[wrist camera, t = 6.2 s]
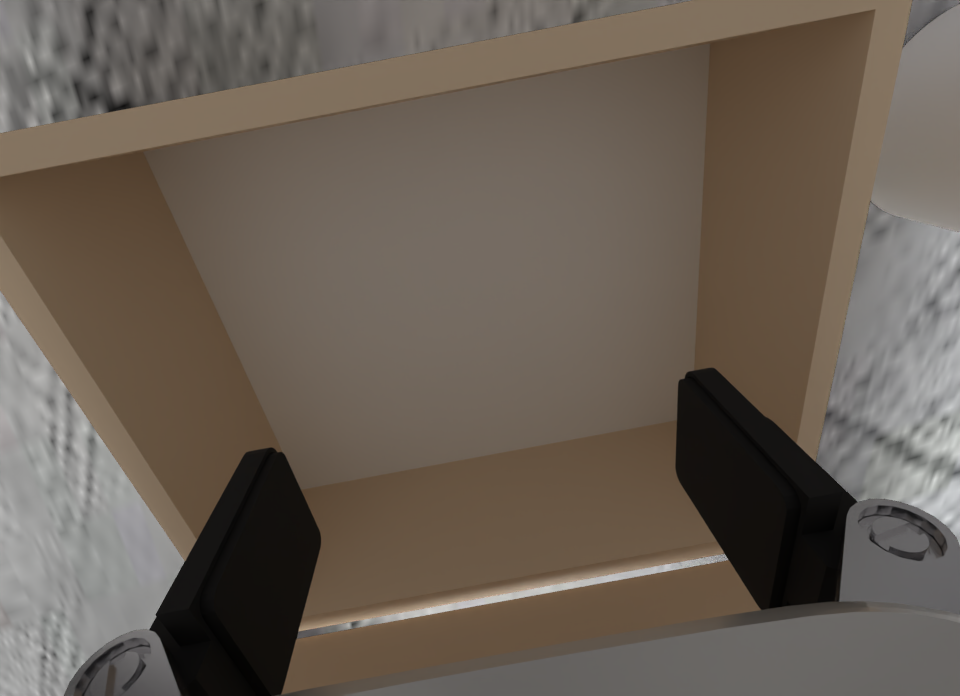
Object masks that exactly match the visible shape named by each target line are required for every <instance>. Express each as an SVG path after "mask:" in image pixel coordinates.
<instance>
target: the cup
mask: <svg viewBox="0 0 960 696" xmlns="http://www.w3.org/2000/svg"><path fill="white" fill-rule="evenodd" d="M871 201H872V202H873V204H875V205H876V206H877V207H878V208H880V209H881V210H883V211H885V212H886V213H889V214H891V215H894V216H897V217H901V218H905V219H909V220H913V221H917V222H921V223H925V224H929V225H933V226H937V227H941V228H944V229H948V230H952V231H956V232H960V4H958V5H956V6H954V7H952V8H951V9H949V10H948V11H946V12H944V13H943V14H941V15H940V16H938V17H937V18H935V19H934V20H933V21H931V22H930V23H929V24H927V25H926V26H925V27H924V28H923V29H921V30H920V31H919V32H918V33H917V34H916V35H915V36H914V37H913V38H912V39H911V40H910V41H909V42H908V43H907V44H906V45H905V46H904V47H903V48H902V53H901V58H900V62H899V67H898V72H897V77H896V81H895V86H894V91H893V96H892V100H891V105H890V110H889V115H888V119H887V124H886V129H885V134H884V139H883V143H882V148H881V153H880V158H879V162H878V167H877V172H876V177H875V181H874V186H873V191H872V196H871Z"/></svg>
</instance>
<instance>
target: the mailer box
mask: <svg viewBox="0 0 960 696" xmlns="http://www.w3.org/2000/svg"><path fill="white" fill-rule="evenodd" d="M911 5H912V0H692V1H687V2H682V3H677V4H671V5H666V6H661V7H656V8H651V9H645V10H640V11H635V12H630V13H625V14H619V15H614V16H609V17H604V18H599V19H593V20H588V21H583V22H578V23H572V24H567V25H562V26H557V27H552V28H546V29H541V30H536V31H531V32H526V33H520V34H515V35H510V36H505V37H500V38H494V39H489V40H484V41H479V42H473V43H468V44H463V45H458V46H453V47H447V48H442V49H437V50H432V51H427V52H421V53H416V54H411V55H406V56H401V57H395V58H390V59H385V60H380V61H374V62H369V63H364V64H359V65H354V66H348V67H343V68H338V69H333V70H328V71H322V72H317V73H312V74H307V75H301V76H296V77H291V78H286V79H281V80H275V81H270V82H265V83H260V84H255V85H249V86H244V87H239V88H234V89H229V90H223V91H218V92H213V93H208V94H202V95H197V96H192V97H187V98H182V99H176V100H171V101H166V102H161V103H156V104H150V105H145V106H140V107H135V108H130V109H124V110H119V111H114V112H109V113H103V114H98V115H93V116H88V117H83V118H77V119H72V120H67V121H62V122H57V123H51V124H46V125H41V126H36V127H31V128H25V129H20V130H15V131H10V132H4V133H0V291H1V292H2V294H3V295H4V297H5V298H6V300H7V301H8V303H9V304H10V305H11V307H12V308H13V310H14V311H15V313H16V314H17V316H18V317H19V319H20V320H21V322H22V323H23V324H24V326H25V327H26V329H27V330H28V332H29V333H30V335H31V336H32V338H33V339H34V341H35V342H36V344H37V345H38V346H39V348H40V349H41V351H42V352H43V354H44V355H45V357H46V358H47V360H48V361H49V363H50V364H51V366H52V367H53V368H54V370H55V371H56V373H57V374H58V376H59V377H60V379H61V380H62V382H63V383H64V385H65V386H66V388H67V389H68V390H69V392H70V393H71V395H72V396H73V398H74V399H75V401H76V402H77V404H78V405H79V407H80V408H81V409H82V411H83V412H84V414H85V415H86V417H87V418H88V420H89V421H90V423H91V424H92V426H93V427H94V429H95V430H96V431H97V433H98V434H99V436H100V437H101V439H102V440H103V442H104V443H105V445H106V446H107V448H108V449H109V451H110V452H111V453H112V455H113V456H114V458H115V459H116V461H117V462H118V464H119V465H120V467H121V468H122V470H123V471H124V472H125V474H126V475H127V477H128V478H129V480H130V481H131V483H132V484H133V486H134V487H135V489H136V490H137V492H138V493H139V494H140V496H141V497H142V499H143V500H144V502H145V503H146V505H147V506H148V508H149V509H150V511H151V512H152V514H153V515H154V516H155V518H156V519H157V521H158V522H159V524H160V525H161V527H162V528H163V530H164V531H165V533H166V534H167V535H168V537H169V538H170V540H171V541H172V543H173V544H174V546H175V547H176V549H177V550H178V552H179V553H180V555H181V556H182V557H183V559H184V560H185V561H186V559H187V557H188V555H189V553H190V552H191V550H192V548H193V546H194V544H195V542H196V541H197V539H198V537H199V535H200V533H201V532H202V530H203V528H204V526H205V524H206V523H207V521H208V519H209V517H210V515H211V513H212V512H213V510H214V508H215V506H216V504H217V503H218V501H219V499H220V497H221V495H222V494H223V492H224V490H225V488H226V486H227V484H228V483H229V481H230V479H231V477H232V475H233V474H234V472H235V470H236V468H237V466H238V465H239V463H240V461H241V459H242V457H243V456H244V454H245V453H246V452H248V451H253V450H259V449H264V448H270V447H272V448H274V449H275V450H276V451H277V452H283V453H284V454H285V456H286V458H287V460H288V462H289V465H290V467H291V469H292V471H293V473H294V476H295V478H296V480H297V482H298V484H299V487H300V489H301V491H302V493H303V495H304V497H305V500H306V502H307V504H308V506H309V508H310V511H311V513H312V515H313V517H314V519H315V522H316V524H317V526H318V528H319V531H320V534H321V548H320V552H319V555H318V559H317V563H316V567H315V570H314V574H313V578H312V582H311V586H310V589H309V593H308V597H307V601H306V604H305V608H304V612H303V616H302V620H301V623H300V627H299V631H304V630H309V629H315V628H320V627H325V626H331V625H336V624H342V623H347V622H353V621H358V620H364V619H369V618H375V617H380V616H386V615H391V614H397V613H402V612H408V611H413V610H419V609H424V608H430V607H435V606H440V605H446V604H451V603H457V602H462V601H468V600H473V599H479V598H484V597H490V596H495V595H501V594H506V593H512V592H517V591H523V590H528V589H534V588H539V587H545V586H550V585H555V584H561V583H566V582H572V581H577V580H583V579H588V578H594V577H599V576H605V575H610V574H616V573H621V572H627V571H632V570H638V569H643V568H649V567H654V566H660V565H665V564H671V563H676V562H681V561H687V560H692V559H698V558H703V557H709V556H714V555H720V554H725V553H724V552H723V550H722V548H721V547H720V545H719V544H718V542H717V541H716V539H715V537H714V536H713V534H712V533H711V531H710V529H709V528H708V526H707V525H706V523H705V522H704V520H703V518H702V517H701V515H700V514H699V512H698V510H697V509H696V507H695V506H694V504H693V503H692V501H691V499H690V498H689V496H688V495H687V493H686V491H685V490H684V488H683V487H682V485H681V484H680V482H679V480H678V477H677V474H676V469H675V460H676V431H677V401H678V382H679V380H680V379H685V375H686V373H687V372H689V371H694V370H700V369H705V368H715V369H716V370H717V371H718V372H719V373H721V374H722V375H723V376H724V377H725V378H726V379H727V380H728V381H729V382H730V383H731V384H732V385H733V386H734V387H735V388H736V389H737V390H738V391H739V392H740V393H741V394H742V395H743V396H744V397H745V398H746V399H747V400H748V401H749V402H751V403H752V404H753V405H754V406H755V407H756V408H757V409H758V410H759V411H760V412H761V413H762V414H763V415H764V416H765V417H767V418H769V419H771V420H772V421H773V422H774V423H775V424H777V425H778V426H779V427H780V428H781V429H782V430H783V431H784V432H785V433H786V434H787V435H788V436H789V437H790V438H791V439H792V440H793V441H794V442H795V443H796V444H797V445H798V446H799V447H801V448H802V449H803V450H804V451H805V452H806V453H807V454H808V455H809V456H810V457H811V458H812V459H813V460H814V461H815V462H816V457H817V453H818V448H819V443H820V438H821V434H822V429H823V424H824V419H825V415H826V410H827V405H828V400H829V396H830V391H831V386H832V381H833V377H834V372H835V367H836V362H837V358H838V353H839V348H840V343H841V338H842V334H843V329H844V324H845V319H846V315H847V310H848V305H849V300H850V296H851V291H852V286H853V281H854V277H855V272H856V267H857V262H858V258H859V253H860V248H861V243H862V238H863V234H864V229H865V224H866V219H867V215H868V210H869V205H870V200H871V196H872V191H873V186H874V181H875V177H876V172H877V167H878V162H879V158H880V153H881V148H882V143H883V139H884V134H885V129H886V124H887V119H888V115H889V110H890V105H891V100H892V96H893V91H894V86H895V81H896V77H897V72H898V67H899V62H900V58H901V53H902V48H903V43H904V39H905V34H906V29H907V24H908V20H909V15H910V10H911Z"/></svg>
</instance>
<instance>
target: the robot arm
mask: <svg viewBox="0 0 960 696" xmlns="http://www.w3.org/2000/svg"><path fill="white" fill-rule="evenodd" d="M675 469H676V474H677V477H678V480H679V482H680V484H681V485H682V487H683V488H684V490H685V491H686V493H687V495H688V496H689V498H690V499H691V501H692V503H693V504H694V506H695V507H696V509H697V510H698V512H699V514H700V515H701V517H702V518H703V520H704V522H705V523H706V525H707V526H708V528H709V529H710V531H711V533H712V534H713V536H714V537H715V539H716V541H717V542H718V544H719V545H720V547H721V548H722V550H723V552H724V553H725V555H726V556H727V558H728V560H729V561H730V563H731V564H732V566H733V567H734V569H735V571H736V572H737V574H738V575H739V577H740V578H741V580H742V582H743V583H744V585H745V586H746V588H747V590H748V591H749V593H750V594H751V596H752V597H753V599H754V601H755V602H756V604H757V605H758V607H759V608H760V609H761V610H758V611H752V612H745V613H739V614H732V615H726V616H719V617H713V618H706V619H700V620H694V621H689V622H683V623H677V624H671V625H665V626H659V627H654V628H648V629H642V630H636V631H630V632H624V633H619V634H613V635H607V636H601V637H595V638H589V639H584V640H578V641H572V642H566V643H561V644H555V645H549V646H544V647H538V648H532V649H527V650H521V651H515V652H510V653H504V654H498V655H493V656H487V657H482V658H476V659H470V660H465V661H459V662H454V663H448V664H442V665H437V666H431V667H426V668H420V669H415V670H409V671H404V672H398V673H393V674H387V675H382V676H376V677H371V678H366V679H360V680H355V681H349V682H344V683H338V684H333V685H327V686H322V687H316V688H311V689H306V690H301V691H296V692H291V693H286V694H281V693H282V691H283V687H284V684H285V680H286V676H287V672H288V669H289V665H290V661H291V657H292V653H293V650H294V646H295V642H296V638H297V635H298V631H299V627H300V623H301V620H302V616H303V612H304V608H305V604H306V601H307V597H308V593H309V589H310V586H311V582H312V578H313V574H314V570H315V567H316V563H317V559H318V555H319V552H320V548H321V534H320V531H319V528H318V526H317V524H316V522H315V519H314V517H313V515H312V513H311V511H310V508H309V506H308V504H307V502H306V500H305V497H304V495H303V493H302V491H301V489H300V487H299V484H298V482H297V480H296V478H295V476H294V473H293V471H292V469H291V467H290V465H289V462H288V460H287V458H286V456H285V454H284V453H283V452H277V451H276V450H275V449H274V448H272V447H270V448H264V449H259V450H253V451H248V452H246V453H245V454H244V456H243V457H242V459H241V461H240V463H239V465H238V466H237V468H236V470H235V472H234V474H233V475H232V477H231V479H230V481H229V483H228V484H227V486H226V488H225V490H224V492H223V494H222V495H221V497H220V499H219V501H218V503H217V504H216V506H215V508H214V510H213V512H212V513H211V515H210V517H209V519H208V521H207V523H206V524H205V526H204V528H203V530H202V532H201V533H200V535H199V537H198V539H197V541H196V542H195V544H194V546H193V548H192V550H191V552H190V553H189V555H188V557H187V559H186V561H185V562H184V564H183V566H182V568H181V570H180V571H179V573H178V575H177V577H176V579H175V581H174V582H173V584H172V586H171V588H170V590H169V591H168V593H167V595H166V597H165V599H164V600H163V602H162V604H161V606H160V608H159V610H158V611H157V613H156V616H157V617H156V619H155V621H154V622H153V624H152V626H151V628H150V630H147V629H143V630H134V631H131V632H129V633H126V634H123V635H121V636H119V637H117V638H115V639H114V640H112V641H110V642H108V643H107V644H105V645H104V646H103V647H102V648H100V649H99V650H98V651H97V652H95V653H94V654H93V655H92V656H91V657H90V658H89V659H88V660H87V661H86V662H85V663H84V664H83V665H82V666H81V667H80V668H79V670H78V671H77V673H76V674H75V675H74V677H73V678H72V680H71V681H70V682H69V685H68V687H67V689H66V692H65V694H64V696H960V545H959V542H958V540H957V537H956V536H955V535H954V534H953V533H952V532H951V530H950V529H949V528H948V527H947V526H946V525H945V524H943V523H942V522H941V521H939V520H938V519H937V518H935V517H934V516H932V515H930V514H929V513H927V512H925V511H923V510H921V509H919V508H917V507H914V506H911V505H908V504H905V503H902V502H899V501H893V500H887V499H867V500H863V501H860V502H857V501H856V500H855V499H854V498H853V497H852V496H851V495H850V494H849V493H848V492H847V491H845V490H844V489H843V488H842V487H841V486H840V485H839V484H838V483H837V482H836V481H835V480H834V479H833V478H832V477H831V476H830V475H829V474H828V473H827V472H826V471H825V470H824V469H822V468H821V467H820V466H819V465H818V464H817V463H816V462H815V461H814V460H813V459H812V458H811V457H810V456H809V455H808V454H807V453H806V452H805V451H804V450H803V449H802V448H801V447H799V446H798V445H797V444H796V443H795V442H794V441H793V440H792V439H791V438H790V437H789V436H788V435H787V434H786V433H785V432H784V431H783V430H782V429H781V428H780V427H779V426H778V425H777V424H775V423H774V422H773V421H772V420H771V419H769V418H767V417H765V416H764V415H763V414H762V413H761V412H760V411H759V410H758V409H757V408H756V407H755V406H754V405H753V404H752V403H751V402H749V401H748V400H747V399H746V398H745V397H744V396H743V395H742V394H741V393H740V392H739V391H738V390H737V389H736V388H735V387H734V386H733V385H732V384H731V383H730V382H729V381H728V380H727V379H726V378H725V377H724V376H723V375H722V374H721V373H719V372H718V371H717V370H716V369H715V368H705V369H700V370H694V371H689V372H687V373H686V375H685V379H680V380H679V382H678V401H677V431H676V460H675Z"/></svg>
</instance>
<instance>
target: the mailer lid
mask: <svg viewBox="0 0 960 696" xmlns="http://www.w3.org/2000/svg"><path fill="white" fill-rule="evenodd" d="M758 610H761V609H760V608H759V607H758V605H757V604H756V602H755V601H754V599H753V597H752V596H751V594H750V593H749V591H748V590H747V588H746V586H745V585H744V583H743V582H742V580H741V578H740V577H739V575H738V574H737V572H736V571H735V569H734V567H733V566H732V564H731V563H730V561H729V560H727V561H722V562H716V563H711V564H705V565H700V566H694V567H689V568H683V569H678V570H673V571H667V572H662V573H656V574H651V575H645V576H640V577H634V578H629V579H623V580H618V581H612V582H607V583H601V584H596V585H590V586H585V587H579V588H574V589H568V590H563V591H557V592H552V593H546V594H541V595H536V596H530V597H525V598H519V599H514V600H508V601H503V602H497V603H492V604H486V605H481V606H475V607H470V608H464V609H459V610H453V611H448V612H442V613H437V614H431V615H426V616H420V617H415V618H409V619H404V620H398V621H393V622H388V623H382V624H377V625H371V626H366V627H360V628H355V629H349V630H344V631H338V632H333V633H327V634H322V635H316V636H311V637H305V638H300V639H296V642H295V646H294V650H293V653H292V657H291V661H290V665H289V669H288V672H287V676H286V680H285V684H284V687H283V691H282V693H281V694H286V693H291V692H296V691H301V690H306V689H311V688H316V687H322V686H327V685H333V684H338V683H344V682H349V681H355V680H360V679H366V678H371V677H376V676H382V675H387V674H393V673H398V672H404V671H409V670H415V669H420V668H426V667H431V666H437V665H442V664H448V663H454V662H459V661H465V660H470V659H476V658H482V657H487V656H493V655H498V654H504V653H510V652H515V651H521V650H527V649H532V648H538V647H544V646H549V645H555V644H561V643H566V642H572V641H578V640H584V639H589V638H595V637H601V636H607V635H613V634H619V633H624V632H630V631H636V630H642V629H648V628H654V627H659V626H665V625H671V624H677V623H683V622H689V621H694V620H700V619H706V618H713V617H719V616H726V615H732V614H739V613H745V612H752V611H758Z"/></svg>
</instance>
